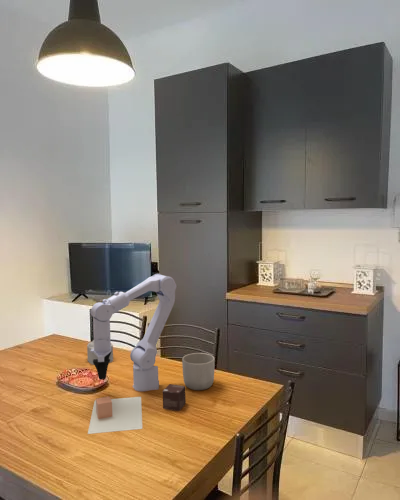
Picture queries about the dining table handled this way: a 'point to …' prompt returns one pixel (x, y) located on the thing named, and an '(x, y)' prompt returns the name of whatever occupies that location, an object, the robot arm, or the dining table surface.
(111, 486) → the dining table surface
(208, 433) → the dining table surface
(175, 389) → the box
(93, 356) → the lumpy-topped squat cylinder
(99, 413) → the peach colored cube
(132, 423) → the board
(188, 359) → the planter
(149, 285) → the robot arm
